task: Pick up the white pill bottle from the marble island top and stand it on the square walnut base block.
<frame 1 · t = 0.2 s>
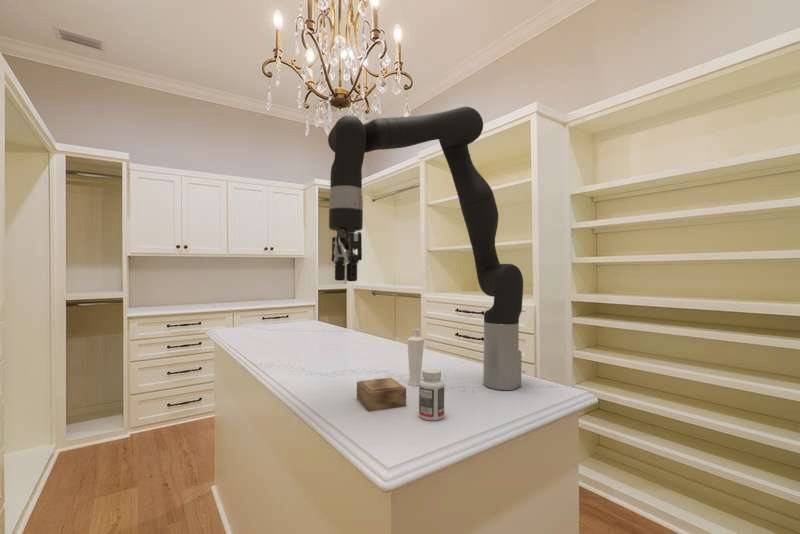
hand: (345, 280, 82), 28 cm above the counter, tool pointing down, fingers open, 8 cm apart
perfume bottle: (415, 384, 101), on the counter
base block: (380, 402, 86), on the counter
pill bottle: (431, 417, 78), on the counter
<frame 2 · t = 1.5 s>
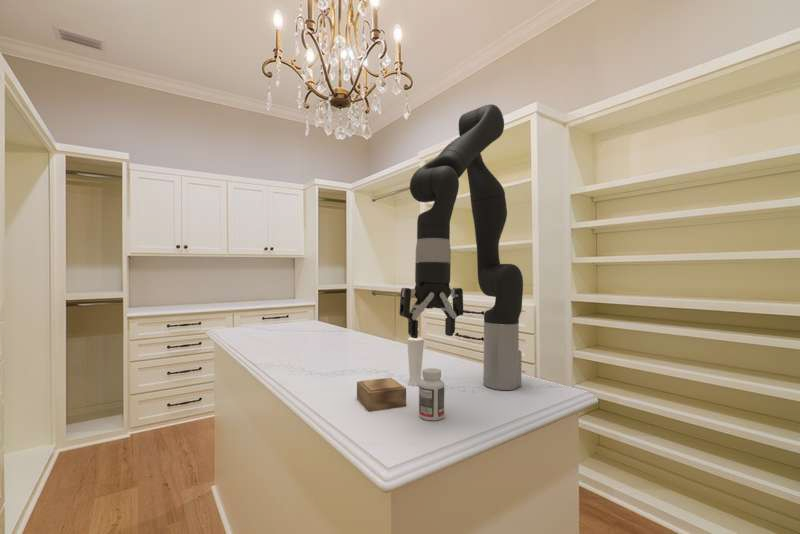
hand: (431, 336, 78), 17 cm above the counter, tool pointing down, fingers open, 8 cm apart
nothing on the counter moved.
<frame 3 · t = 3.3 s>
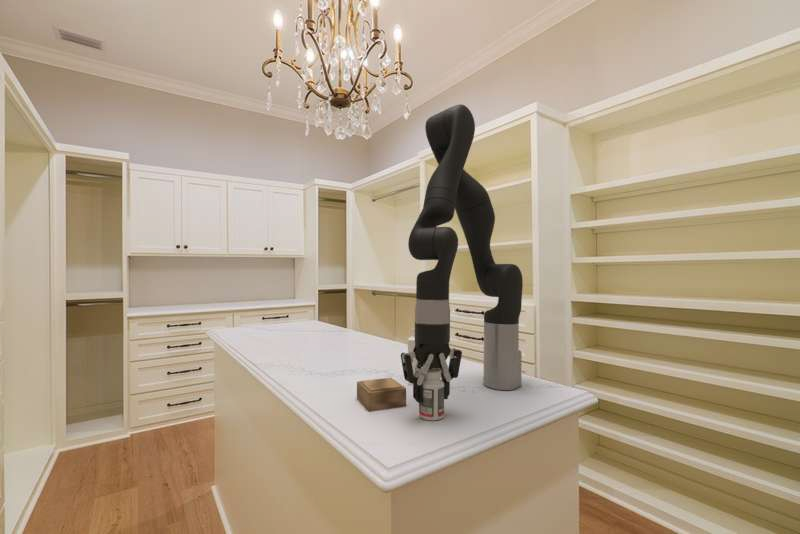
hand: (431, 399, 78), 4 cm above the counter, tool pointing down, fingers closed on pill bottle, 5 cm apart
pill bottle: (431, 417, 78), on the counter, touching gripper
everything else where it was.
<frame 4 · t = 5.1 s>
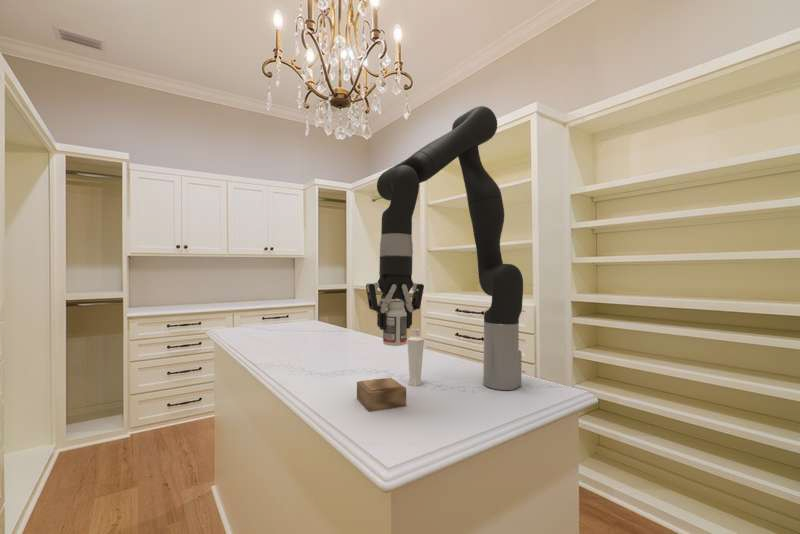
hand: (394, 328, 84), 18 cm above the counter, tool pointing down, fingers closed on pill bottle, 5 cm apart
pill bottle: (394, 345, 83), point 14 cm above the counter, touching gripper
everything else where it was.
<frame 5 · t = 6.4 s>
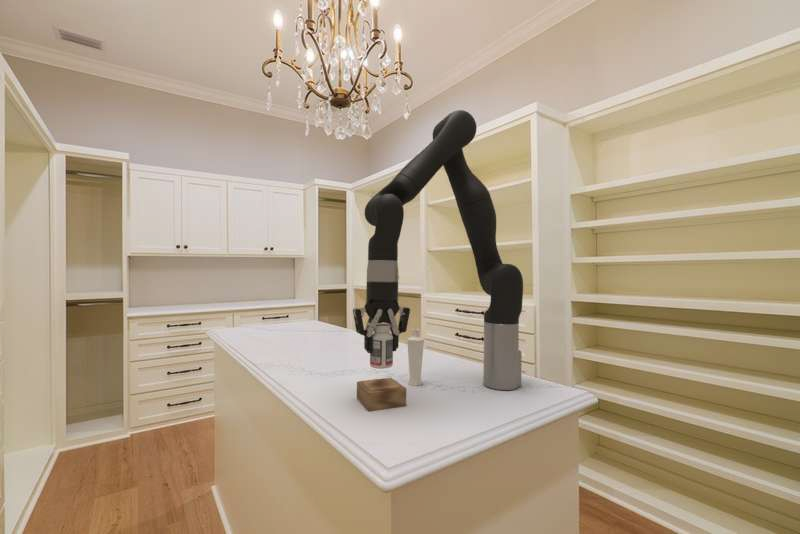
hand: (381, 351, 86), 12 cm above the counter, tool pointing down, fingers closed on pill bottle, 5 cm apart
pill bottle: (381, 367, 86), point 8 cm above the counter, touching gripper
everything else where it was.
when the fingers open (9 cm above the counter, at t = 7.4 s): pill bottle drops 1 cm, resting on base block.
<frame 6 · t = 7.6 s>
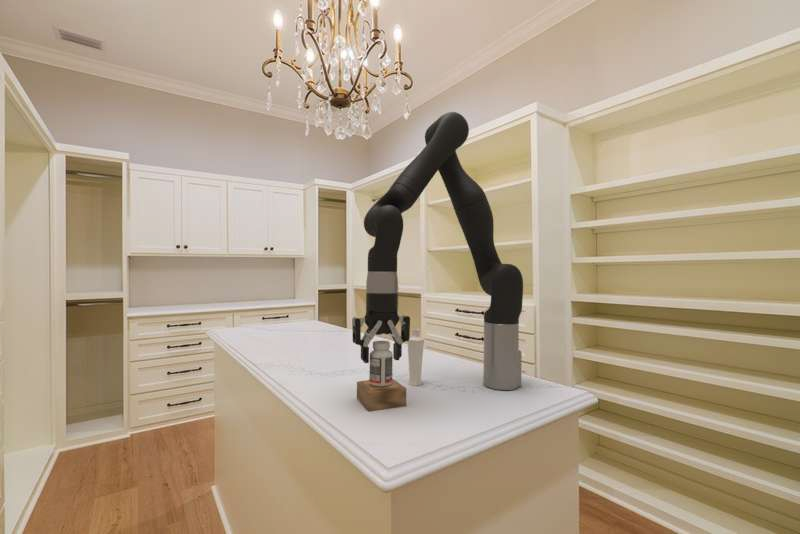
hand: (381, 360, 86), 10 cm above the counter, tool pointing down, fingers open, 7 cm apart
pill bottle: (380, 384, 86), point 4 cm above the counter, touching base block
everything else where it was.
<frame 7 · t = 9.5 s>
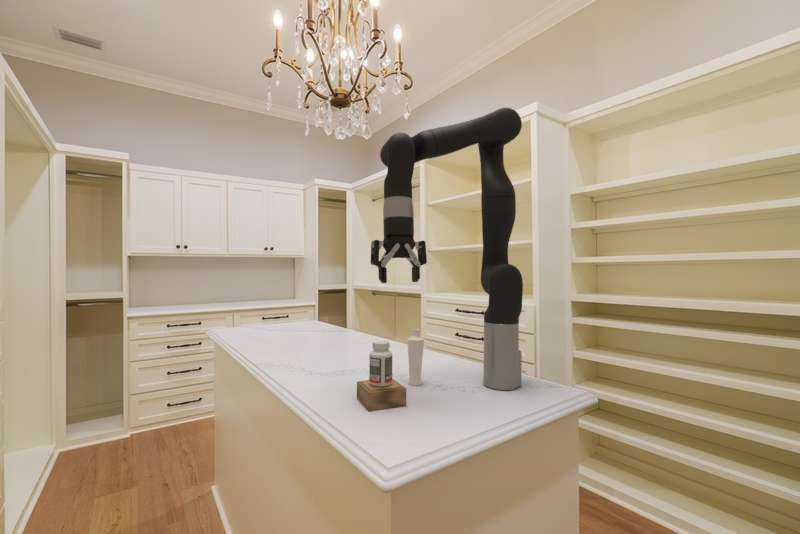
hand: (399, 282, 91), 28 cm above the counter, tool pointing down, fingers open, 8 cm apart
nothing on the counter moved.
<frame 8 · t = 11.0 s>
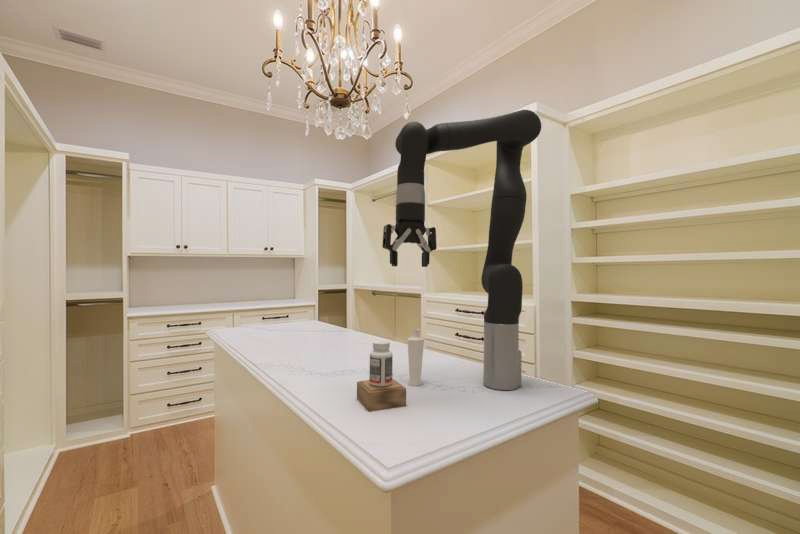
hand: (409, 266, 94), 32 cm above the counter, tool pointing down, fingers open, 8 cm apart
nothing on the counter moved.
at the end: pill bottle inside the target area on the base block (0.1 cm from its centre), point 4.1 cm above the base block's base; pill bottle tilted 0°; the gripper is holding nothing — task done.
